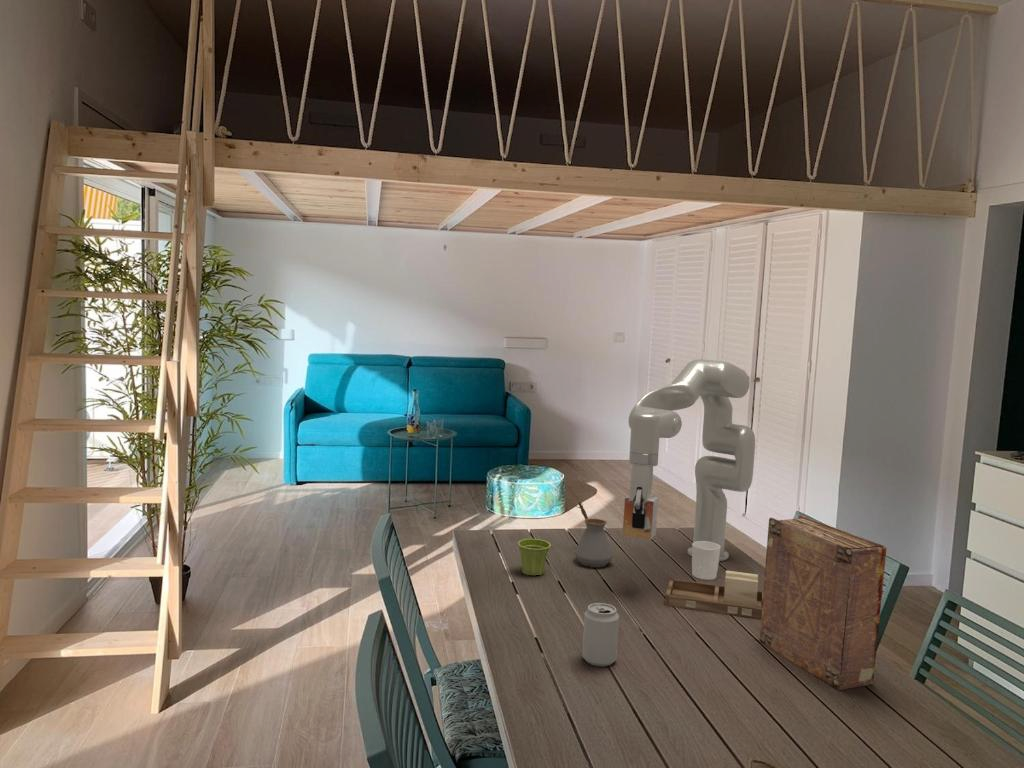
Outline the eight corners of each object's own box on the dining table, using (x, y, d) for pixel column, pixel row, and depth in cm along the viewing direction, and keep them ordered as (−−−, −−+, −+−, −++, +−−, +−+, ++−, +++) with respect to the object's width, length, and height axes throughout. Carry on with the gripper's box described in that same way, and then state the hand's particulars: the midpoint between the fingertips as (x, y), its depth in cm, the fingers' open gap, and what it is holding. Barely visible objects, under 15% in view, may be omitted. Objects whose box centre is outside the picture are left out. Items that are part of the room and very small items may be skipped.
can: (594, 670, 170) (597, 616, 168) (575, 656, 176) (578, 603, 175) (623, 664, 173) (626, 611, 172) (603, 650, 180) (606, 599, 178)
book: (758, 641, 188) (768, 516, 185) (790, 636, 192) (799, 514, 189) (839, 691, 165) (852, 549, 162) (873, 685, 168) (886, 546, 165)
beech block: (723, 599, 212) (726, 570, 211) (755, 604, 209) (757, 574, 209) (723, 607, 206) (725, 577, 205) (755, 612, 204) (758, 582, 203)
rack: (669, 590, 219) (670, 578, 219) (764, 604, 213) (765, 591, 212) (664, 609, 206) (665, 596, 206) (766, 623, 199) (767, 610, 199)
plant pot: (555, 572, 231) (556, 543, 230) (538, 581, 223) (540, 550, 222) (527, 565, 236) (529, 536, 235) (510, 573, 228) (511, 544, 227)
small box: (621, 535, 214) (623, 497, 212) (627, 530, 219) (629, 492, 218) (651, 540, 210) (653, 501, 209) (656, 535, 216) (658, 496, 214)
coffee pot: (618, 568, 236) (621, 519, 235) (581, 570, 233) (583, 520, 232) (593, 546, 257) (595, 501, 255) (559, 548, 254) (561, 501, 252)
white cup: (715, 575, 234) (718, 542, 233) (720, 584, 226) (722, 550, 225) (688, 573, 235) (690, 540, 234) (691, 582, 227) (694, 548, 226)
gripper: (634, 451, 222) (630, 515, 224) (624, 463, 205) (620, 531, 207) (661, 454, 219) (657, 518, 221) (653, 466, 203) (649, 535, 205)
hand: (639, 524), depth 214 cm, fingers closed on small box, 5 cm apart
